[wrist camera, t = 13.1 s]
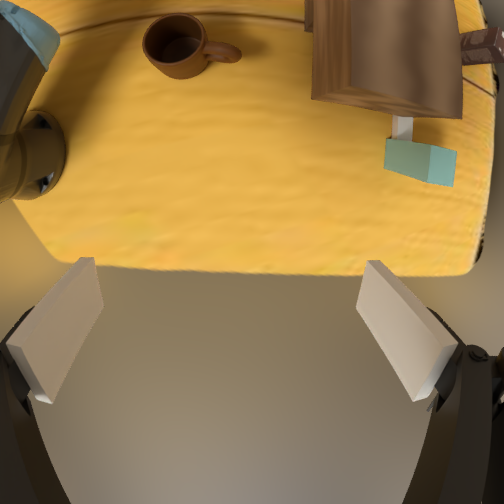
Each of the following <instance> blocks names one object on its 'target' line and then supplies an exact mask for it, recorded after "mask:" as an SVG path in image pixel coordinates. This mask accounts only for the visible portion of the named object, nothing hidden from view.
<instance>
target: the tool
mask: <svg viewBox="0 0 504 504" xmlns="http://www.w3.org/2000/svg"><path fill="white" fill-rule="evenodd" d="M412 132H413V117H400V116H396V115H393V119H392V138H391V139H387V138H386V150H385V162H384V169H387V170H391V171H394V172H397V173H400V174H403V175H406V176H409V177H412V178H415V179H418V180H421V181H423V182H426V183H431V184H438V185H444V186H450V187H453V182H454V174H455V166H456V156H457V151H454V150H450V149H446V148H442V147H438V146H434V145H430V144H424V143H417V142H412Z"/></svg>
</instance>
